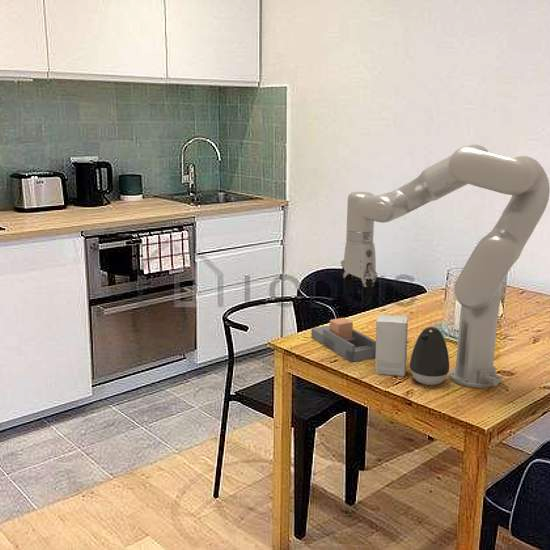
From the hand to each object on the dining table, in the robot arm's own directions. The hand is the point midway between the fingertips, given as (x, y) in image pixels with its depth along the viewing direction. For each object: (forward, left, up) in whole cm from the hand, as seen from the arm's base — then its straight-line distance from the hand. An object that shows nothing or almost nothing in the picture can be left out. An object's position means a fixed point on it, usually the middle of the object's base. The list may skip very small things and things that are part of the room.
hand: (357, 295), depth 185 cm
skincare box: (-15, -2, -18) cm, 24 cm away
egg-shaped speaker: (-25, -7, -18) cm, 32 cm away
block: (+8, 0, -15) cm, 17 cm away
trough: (+6, 0, -18) cm, 19 cm away
